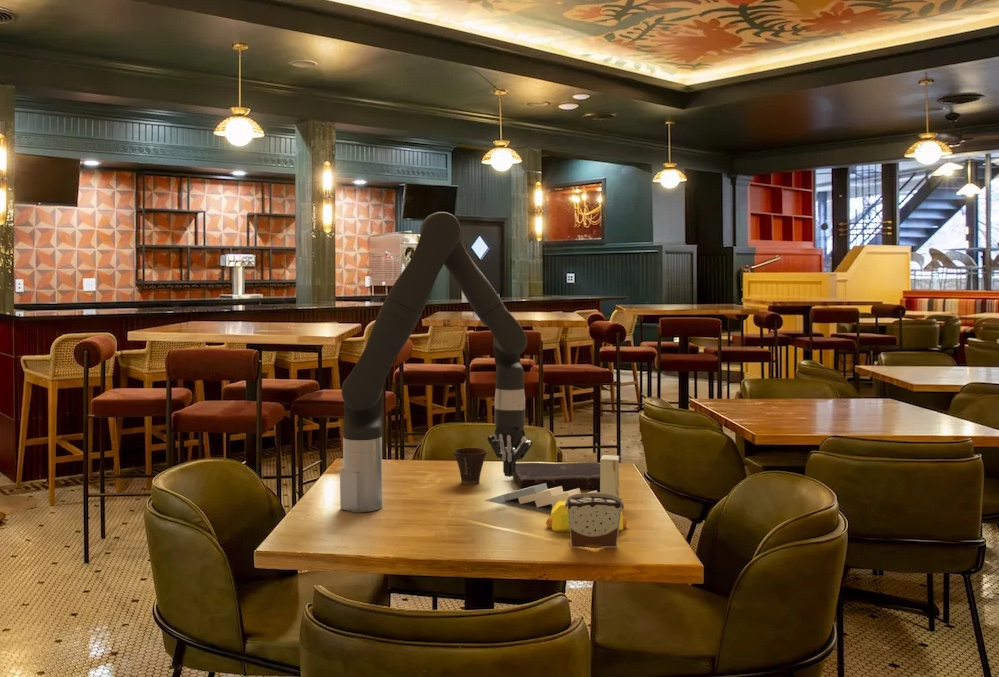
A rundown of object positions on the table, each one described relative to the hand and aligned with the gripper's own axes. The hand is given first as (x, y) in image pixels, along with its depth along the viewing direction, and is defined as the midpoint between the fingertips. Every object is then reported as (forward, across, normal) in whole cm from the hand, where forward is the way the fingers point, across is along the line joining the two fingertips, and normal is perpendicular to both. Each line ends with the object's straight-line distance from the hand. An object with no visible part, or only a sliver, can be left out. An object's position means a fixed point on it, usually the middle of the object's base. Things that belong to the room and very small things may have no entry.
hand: (509, 475), depth 209 cm
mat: (+6, +9, 0) cm, 11 cm away
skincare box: (+7, +22, +11) cm, 26 cm away
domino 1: (+5, 0, 0) cm, 5 cm away
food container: (+7, +34, -16) cm, 38 cm away
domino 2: (+5, +5, 0) cm, 7 cm away
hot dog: (+7, +28, -8) cm, 30 cm away
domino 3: (+5, +10, 0) cm, 11 cm away
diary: (+7, 0, +22) cm, 23 cm away
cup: (+7, -19, +7) cm, 21 cm away
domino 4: (+5, +15, 0) cm, 15 cm away
